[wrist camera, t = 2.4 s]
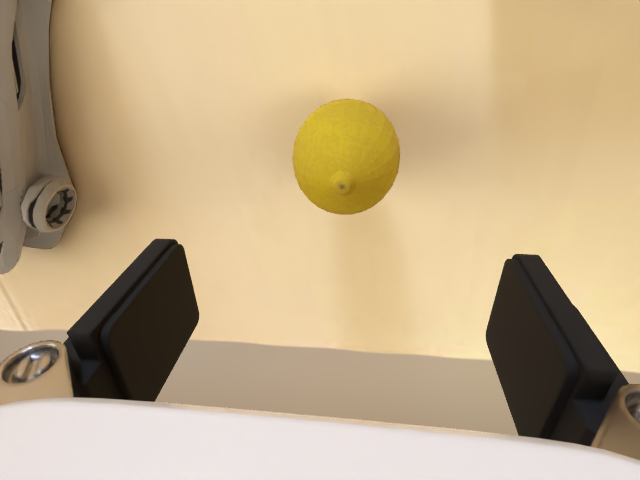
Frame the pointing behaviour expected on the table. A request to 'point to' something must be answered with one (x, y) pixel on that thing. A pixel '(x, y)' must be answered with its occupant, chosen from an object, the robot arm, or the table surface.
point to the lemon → (346, 156)
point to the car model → (29, 136)
